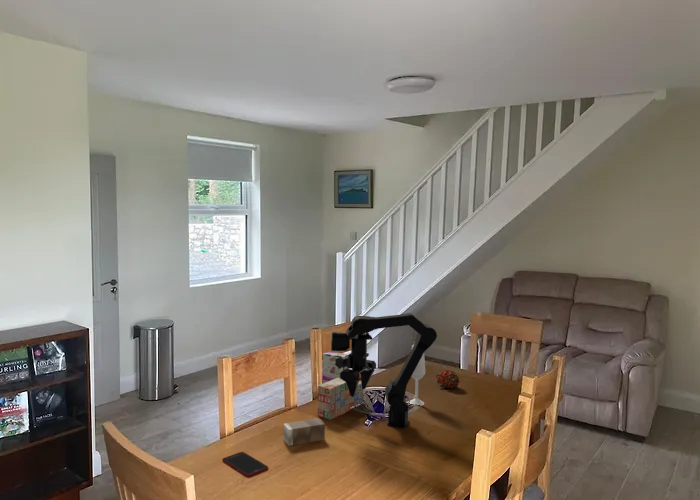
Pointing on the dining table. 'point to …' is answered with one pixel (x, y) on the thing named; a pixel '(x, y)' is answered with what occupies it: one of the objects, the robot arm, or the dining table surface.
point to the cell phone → (245, 464)
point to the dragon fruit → (448, 379)
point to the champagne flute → (417, 375)
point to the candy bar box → (331, 366)
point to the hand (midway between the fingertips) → (358, 392)
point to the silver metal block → (304, 431)
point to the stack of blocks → (337, 398)
